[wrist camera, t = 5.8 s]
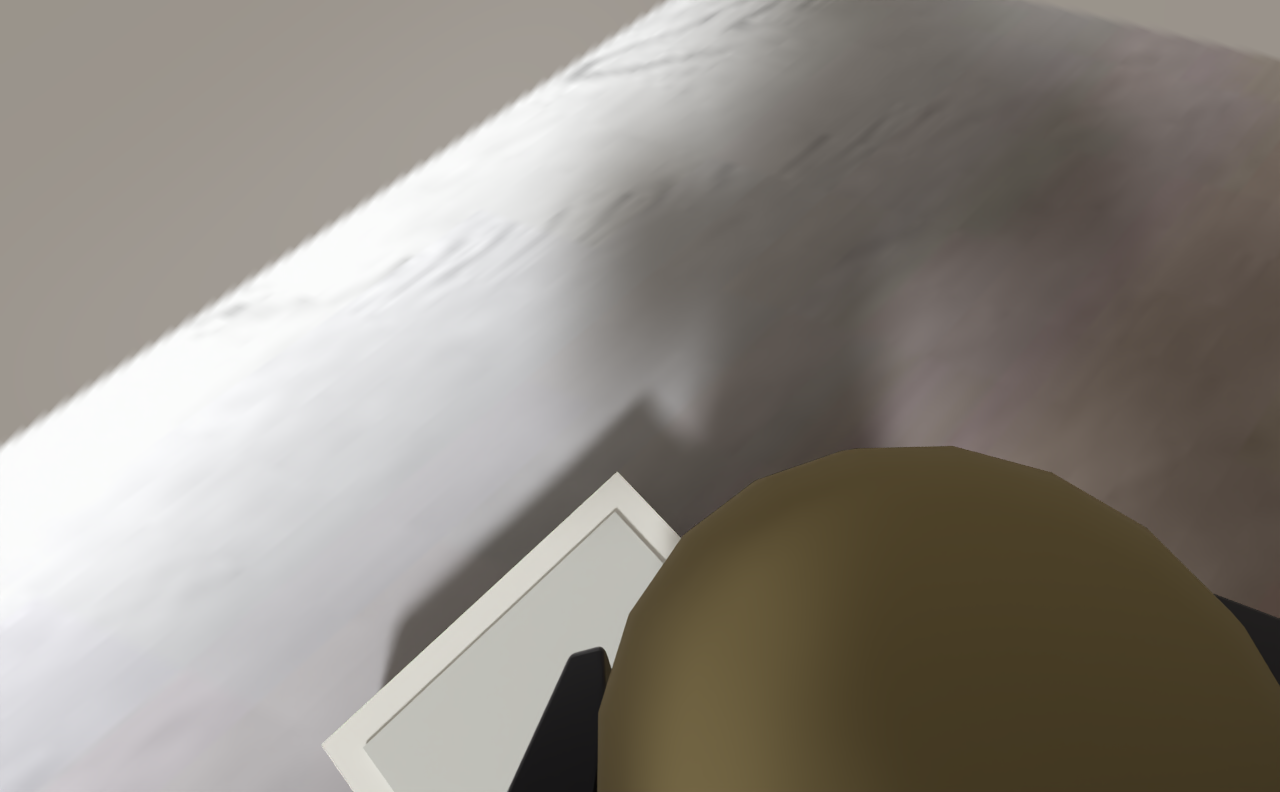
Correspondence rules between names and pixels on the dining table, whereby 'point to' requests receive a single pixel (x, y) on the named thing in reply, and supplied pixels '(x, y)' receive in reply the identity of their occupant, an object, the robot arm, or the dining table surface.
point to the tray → (506, 656)
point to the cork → (932, 644)
